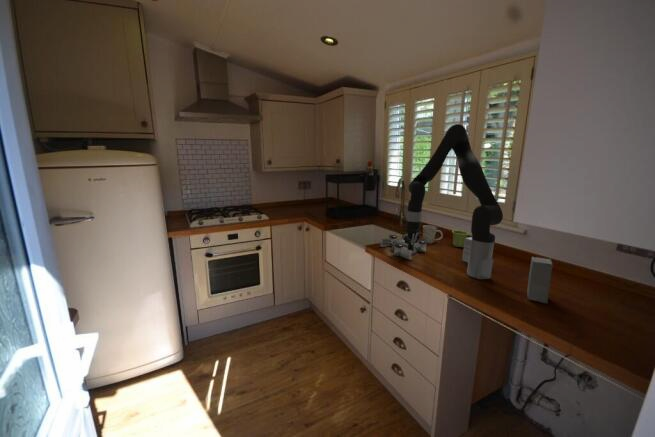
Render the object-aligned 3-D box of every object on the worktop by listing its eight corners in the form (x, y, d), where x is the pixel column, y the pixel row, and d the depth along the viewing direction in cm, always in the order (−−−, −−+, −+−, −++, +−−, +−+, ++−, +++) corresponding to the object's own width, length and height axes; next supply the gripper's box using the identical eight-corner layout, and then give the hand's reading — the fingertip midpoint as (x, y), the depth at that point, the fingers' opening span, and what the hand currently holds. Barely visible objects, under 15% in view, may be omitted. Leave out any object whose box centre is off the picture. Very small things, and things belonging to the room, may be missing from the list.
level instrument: (421, 254, 165) (422, 244, 164) (398, 255, 162) (399, 245, 160) (409, 246, 178) (409, 237, 177) (387, 247, 175) (388, 238, 174)
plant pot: (453, 242, 189) (455, 229, 187) (469, 246, 183) (471, 232, 181) (447, 245, 182) (449, 232, 180) (463, 249, 176) (465, 235, 174)
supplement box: (471, 258, 160) (474, 236, 157) (483, 263, 153) (487, 240, 151) (461, 260, 157) (464, 237, 154) (473, 265, 151) (476, 241, 148)
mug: (420, 239, 193) (421, 224, 191) (440, 241, 191) (442, 226, 189) (422, 243, 185) (424, 228, 183) (443, 245, 183) (445, 229, 181)
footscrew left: (391, 254, 162) (392, 244, 161) (398, 252, 165) (398, 242, 163) (406, 260, 153) (407, 249, 152) (413, 259, 156) (414, 248, 155)
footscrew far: (392, 243, 182) (393, 234, 180) (398, 245, 177) (399, 236, 176) (378, 245, 176) (379, 236, 175) (383, 248, 172) (384, 238, 171)
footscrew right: (427, 252, 168) (428, 242, 167) (420, 252, 167) (421, 242, 165) (417, 246, 178) (417, 236, 177) (409, 246, 177) (410, 237, 175)
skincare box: (547, 304, 112) (555, 265, 109) (525, 299, 116) (532, 261, 113) (545, 295, 120) (553, 259, 116) (524, 291, 123) (531, 255, 120)
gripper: (416, 217, 161) (413, 247, 165) (399, 219, 154) (396, 250, 158) (427, 220, 155) (424, 251, 159) (410, 222, 148) (407, 255, 152)
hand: (410, 251), depth 158 cm, fingers closed
